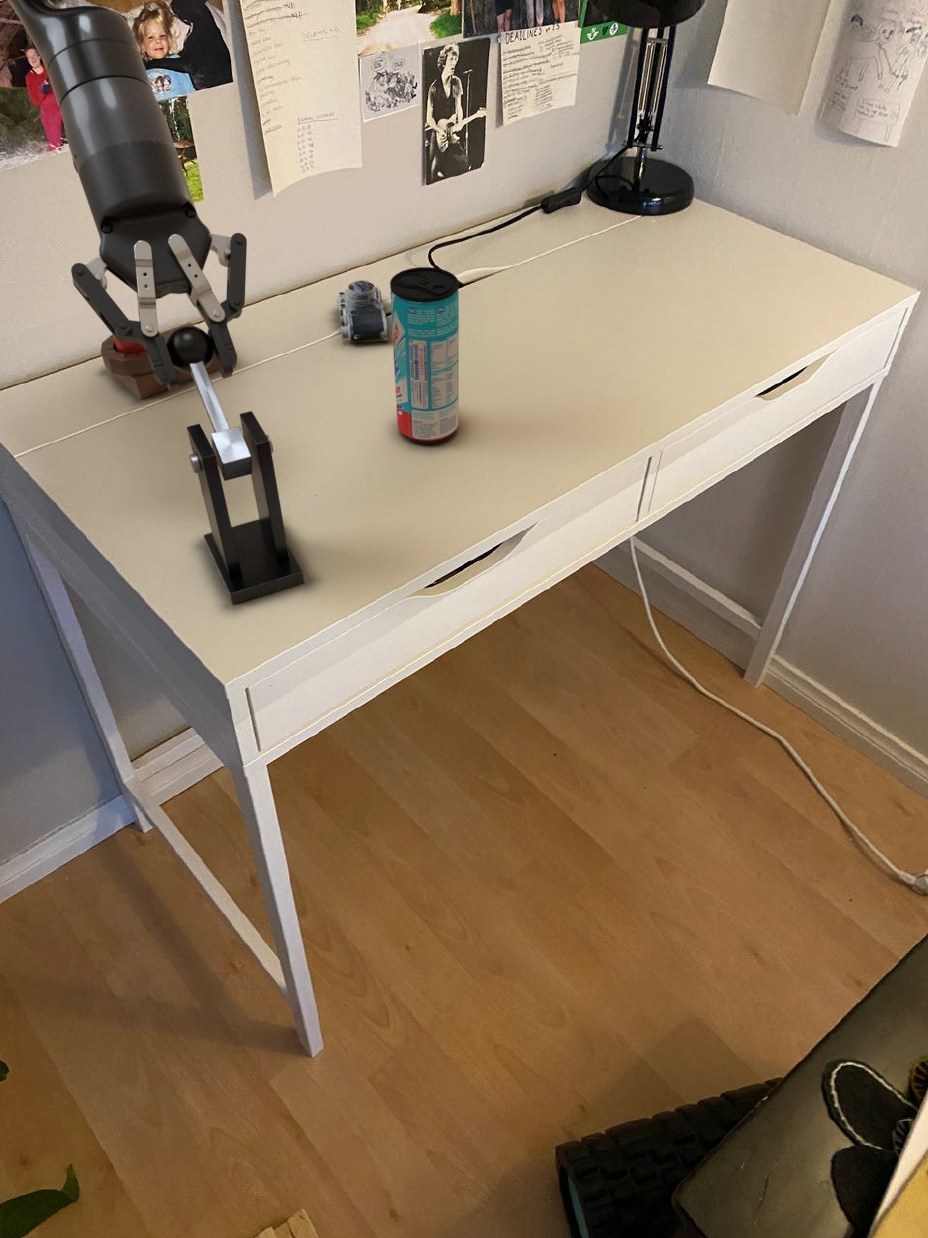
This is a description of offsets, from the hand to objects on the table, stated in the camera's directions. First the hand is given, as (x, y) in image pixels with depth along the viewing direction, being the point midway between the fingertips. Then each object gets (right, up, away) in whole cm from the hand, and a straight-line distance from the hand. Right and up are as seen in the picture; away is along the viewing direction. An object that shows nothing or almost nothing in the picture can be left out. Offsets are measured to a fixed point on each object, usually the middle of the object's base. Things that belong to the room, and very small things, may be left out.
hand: (201, 380), depth 74 cm
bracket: (+3, -14, +5) cm, 15 cm away
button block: (-11, +8, +26) cm, 30 cm away
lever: (+1, -2, 0) cm, 3 cm away
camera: (+9, +14, +33) cm, 38 cm away
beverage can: (+17, 0, +19) cm, 25 cm away
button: (-13, +9, +22) cm, 27 cm away
